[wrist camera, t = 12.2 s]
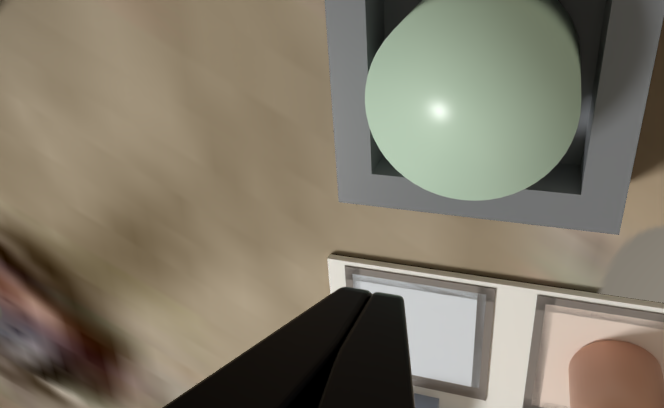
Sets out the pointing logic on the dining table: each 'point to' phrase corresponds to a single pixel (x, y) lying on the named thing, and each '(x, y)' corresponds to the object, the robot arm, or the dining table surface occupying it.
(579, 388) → the cylinder
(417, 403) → the blue-grey faceted bar
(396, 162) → the button
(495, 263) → the dining table surface
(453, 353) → the sorting tray
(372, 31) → the button housing
